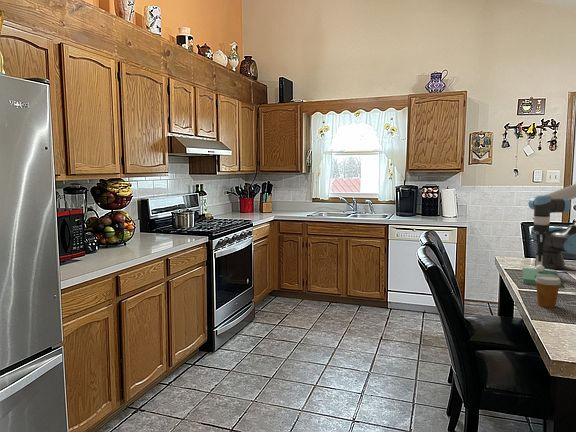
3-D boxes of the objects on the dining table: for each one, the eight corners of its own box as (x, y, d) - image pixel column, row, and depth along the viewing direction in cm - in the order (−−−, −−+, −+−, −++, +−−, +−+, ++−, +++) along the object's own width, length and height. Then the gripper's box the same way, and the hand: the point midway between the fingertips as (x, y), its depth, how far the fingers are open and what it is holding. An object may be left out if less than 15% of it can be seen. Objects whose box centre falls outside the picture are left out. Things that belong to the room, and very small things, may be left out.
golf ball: (538, 270, 234) (539, 263, 233) (546, 272, 230) (546, 265, 230) (533, 271, 232) (534, 264, 232) (541, 273, 229) (541, 265, 228)
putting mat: (522, 272, 241) (522, 268, 241) (556, 275, 234) (556, 270, 234) (523, 283, 218) (523, 278, 218) (560, 287, 211) (561, 282, 211)
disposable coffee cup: (563, 309, 179) (565, 280, 178) (538, 308, 181) (539, 280, 180) (554, 302, 188) (555, 275, 187) (530, 301, 190) (531, 274, 189)
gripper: (533, 222, 242) (530, 263, 245) (533, 225, 231) (531, 268, 234) (548, 223, 239) (546, 265, 242) (550, 225, 227) (547, 270, 230)
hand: (539, 266), depth 238 cm, fingers closed
